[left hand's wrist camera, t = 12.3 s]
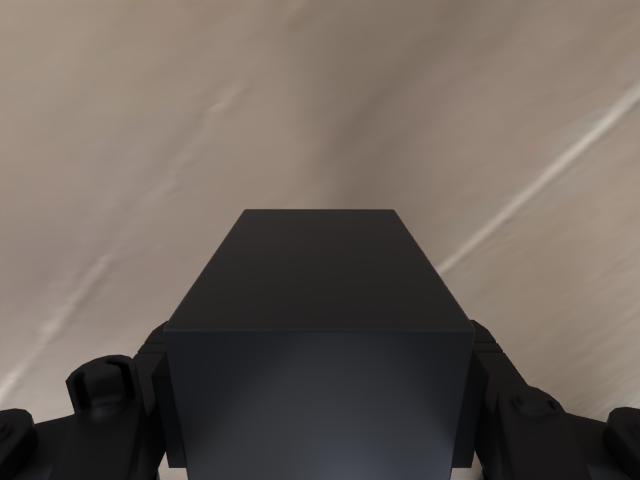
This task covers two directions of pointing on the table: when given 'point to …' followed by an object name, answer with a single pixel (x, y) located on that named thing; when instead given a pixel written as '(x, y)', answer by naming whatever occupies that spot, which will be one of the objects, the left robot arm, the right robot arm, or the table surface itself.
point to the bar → (319, 353)
